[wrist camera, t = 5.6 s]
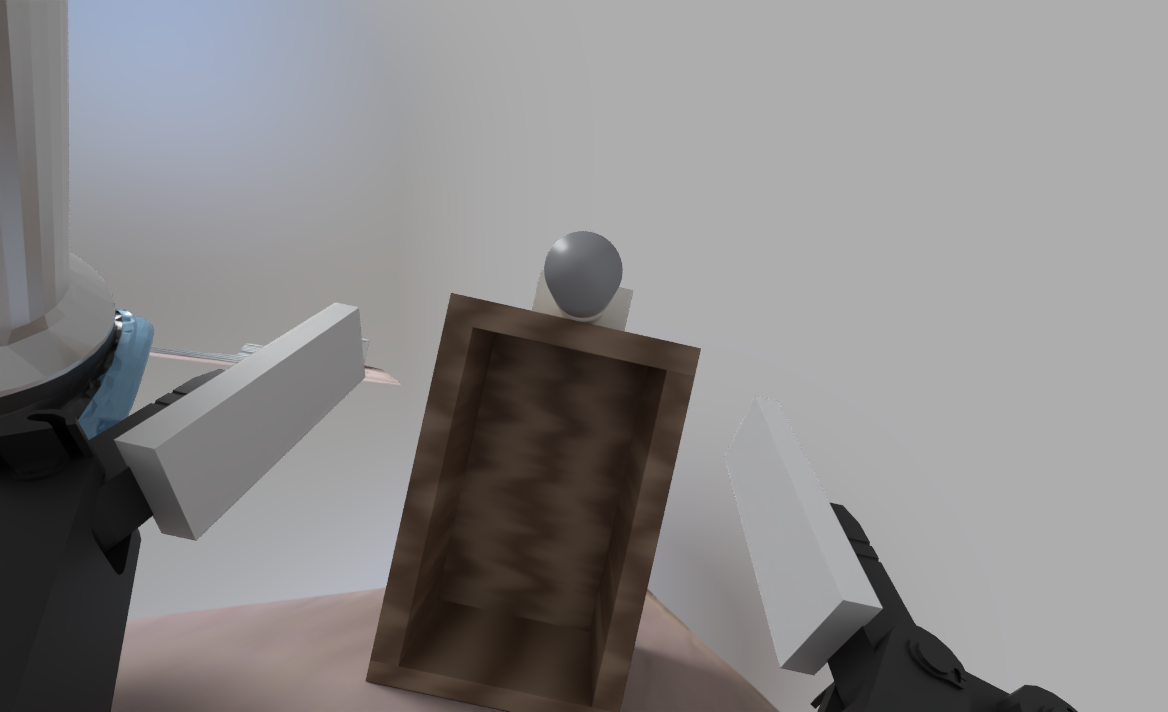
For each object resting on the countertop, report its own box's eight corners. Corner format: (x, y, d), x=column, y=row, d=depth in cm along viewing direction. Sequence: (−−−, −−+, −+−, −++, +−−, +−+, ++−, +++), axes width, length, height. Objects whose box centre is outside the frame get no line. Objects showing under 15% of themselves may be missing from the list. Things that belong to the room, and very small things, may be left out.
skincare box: (349, 367, 168) (356, 338, 168) (343, 365, 170) (350, 336, 170) (363, 368, 173) (370, 340, 173) (357, 366, 175) (364, 338, 175)
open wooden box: (365, 680, 29) (451, 292, 29) (420, 597, 39) (484, 308, 39) (614, 733, 30) (700, 348, 29) (606, 637, 40) (670, 349, 39)
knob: (651, 325, 21) (668, 249, 21) (498, 291, 21) (515, 215, 21) (618, 338, 39) (627, 296, 39) (535, 319, 39) (545, 278, 39)
